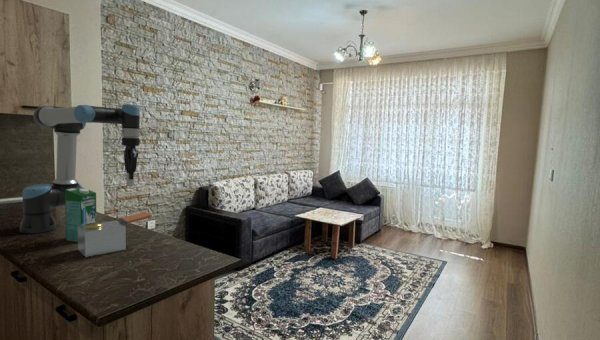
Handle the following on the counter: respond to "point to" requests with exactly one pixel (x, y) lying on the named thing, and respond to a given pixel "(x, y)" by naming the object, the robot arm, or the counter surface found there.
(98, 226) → the brass pin
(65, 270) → the counter surface
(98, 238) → the block
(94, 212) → the milk carton
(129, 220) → the orange tab
